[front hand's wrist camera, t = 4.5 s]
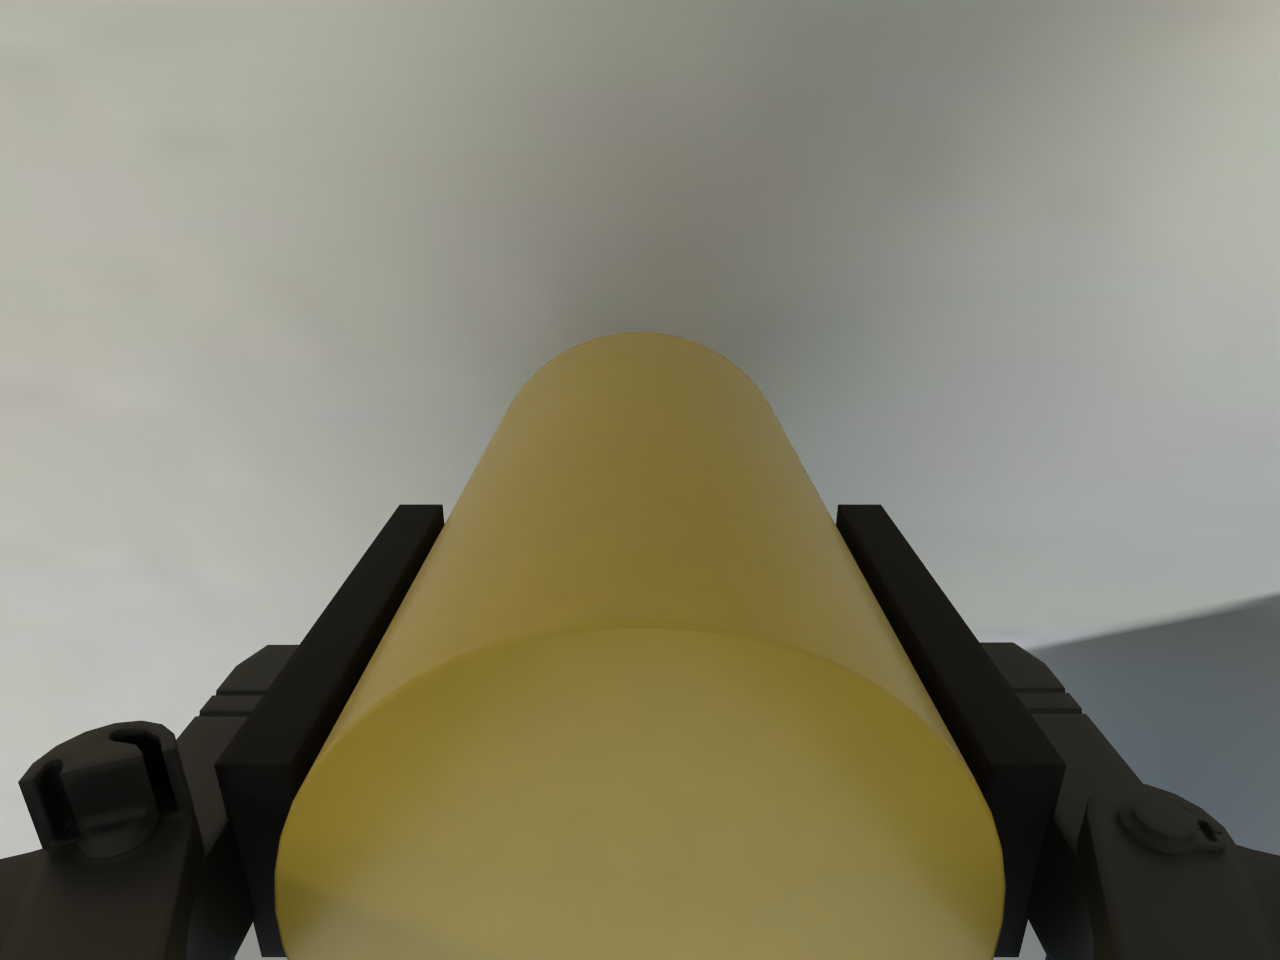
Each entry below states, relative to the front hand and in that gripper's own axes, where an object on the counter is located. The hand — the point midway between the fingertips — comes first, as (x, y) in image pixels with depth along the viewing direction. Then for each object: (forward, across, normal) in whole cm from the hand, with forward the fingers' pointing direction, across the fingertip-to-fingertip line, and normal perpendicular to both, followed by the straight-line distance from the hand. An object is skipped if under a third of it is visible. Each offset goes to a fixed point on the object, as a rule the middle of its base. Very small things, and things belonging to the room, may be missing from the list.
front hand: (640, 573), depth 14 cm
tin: (+5, 0, 0) cm, 5 cm away
